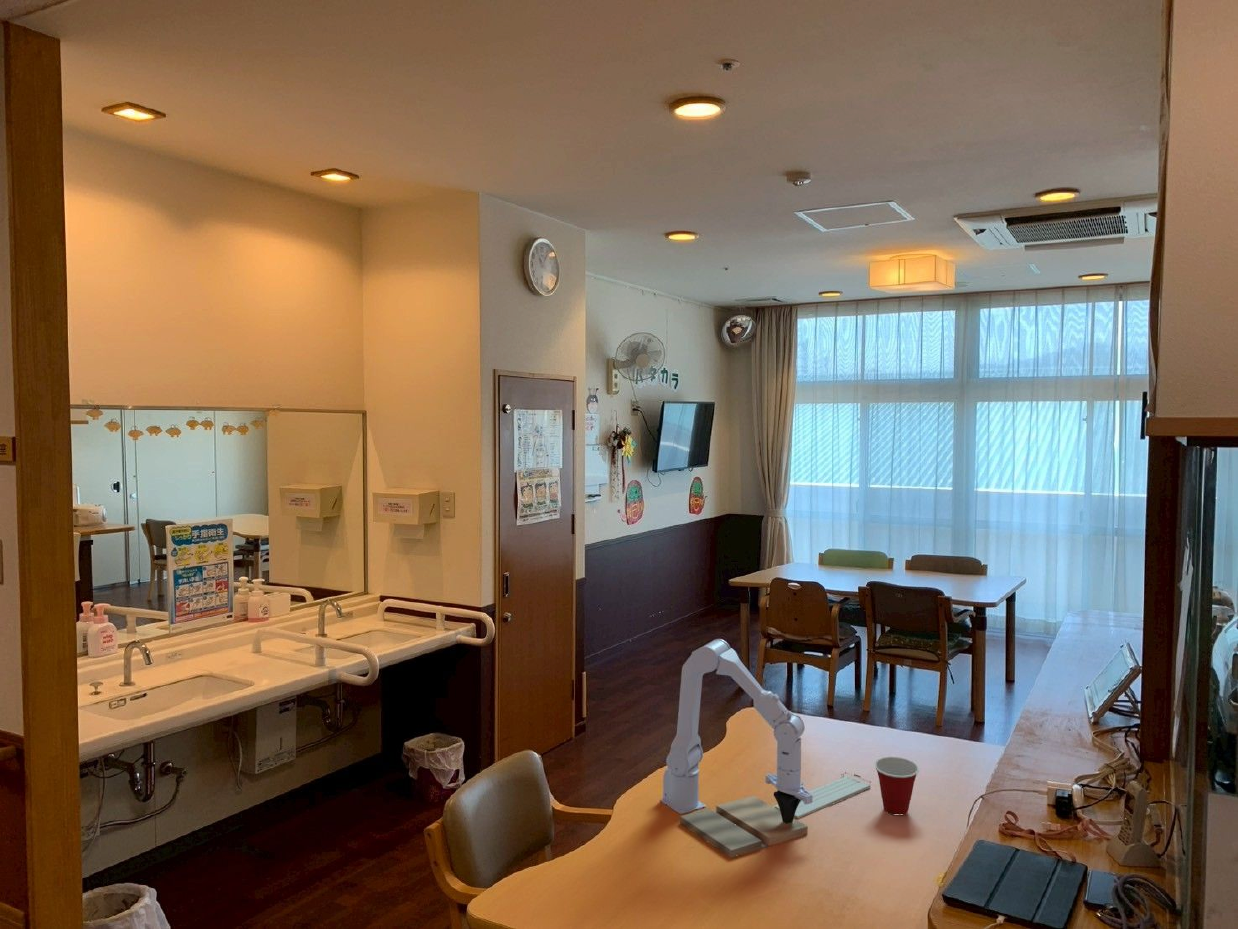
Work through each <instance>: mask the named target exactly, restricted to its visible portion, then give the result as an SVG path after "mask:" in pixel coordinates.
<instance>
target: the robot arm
mask: <svg viewBox="0 0 1238 929" xmlns="http://www.w3.org/2000/svg"><path fill="white" fill-rule="evenodd" d="M715 670H716V672H715V674H716V675H721V676H729V677H730V678H732V680H734V681H735V683H736V684H738V686H739V687H740V688H741V689H743V691H744V692H745V693H746V694H748V695H749V697H750V698H751V699H752V700H753V708H754V709H755V711H757V712H758V714H759V715H760V716H761V718H763V719H764V721H765V722H766V723H767V724H768V725H769V726H770V727H771V729H772V730H773V731H772V732H773V736H774V739H775V740H776V742H777V747H776V774H773V773H768V774H766V775H765V783H766V784H767V785H770V784H771V785H772V786H773V787H774V788H775V789H776V790H777V791H774V792H773V797H774V799H775V801H776V803H777V805H779V808H780V812H781V816H782V820H783V822H784V823H786V824H788V823H791V822H793V819H795V818H794V815H795V812H796V809H797V807H798V805H799V803H800V801H801V800H802V801H804V804H806V805H807V804H810V803H812V801H813V795H812V794H810V793H809V791H808V790H807V789H806V788H805V787H804V782H803V781H801V780H802V779H801V778H802V776H801V774H802V737H801V736H803V734H804V732H805V729H806V728H805V724H804V721H803V720H802V718H801V716H800V715H799V714H796V713H793V712H792V710H788V709H787V707H786V706H785V705H784V704H783V703H782V702H781V700H780V697H779V695H778V693H775V694H774V693H773V692H772V691H771V690H765V689H764V688H763V687H762V686H761V685H760V683H759V682H758V681H757V679H755V677H754V676H753V675H752V674H751V672H750V671H749V669H748V668H747V667H746V666H745V665H744V663H743V662H742V661H741V659H740V658H739V655H738V653H737V651H736V650H734V648H731V646H730V644H729V643H728V642H727V641H726V640H724V639H722V638H716V639H713V640H711V641H710V642H708V643H706V644H704V645H703V646H701V647H699V648H697V649H695V650H693V651H692V652H691V655H690V656H689V657H688V658H687V659H686V661H685V662H684V664H683V665H682V668H681V677H680V688H679V702H678V716H677V725H676V735H675V737H674V739H673V741H672V743H671V745H670V751H669V753H668V754H667V756H666V759H665V760H666V761H665V762H666V769H665V770H664V773H663V775H662V798H660V800H659V801H660V802H661V803H663V804H664V805H666V804H667V805H666V806H668V807H669V808H670V809H672V810H673V811H675V812H677V813H678V814H680V815H682V814H686V813H687V814H688V813H690V812H693V810H694V811H696V810H695V809H698V810H702V809H704V808H703V807H705V808H706V804H705V803H702V802H701V801H700V800H699V798H700V797H699V794H700V793H699V790H700V787H699V786H700V777H699V776H700V767H699V764H700V762H701V761H703V757H704V751H703V748H702V746H701V745H702V744H701V743H702V742H701V737H700V735H699V734H698V733H699V724H700V723H699V721H700V713H701V712H700V711H701V697H702V689H703V687H702V686H703V676H704V675H705V674H708V673H711V672H713V671H715Z"/></svg>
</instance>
